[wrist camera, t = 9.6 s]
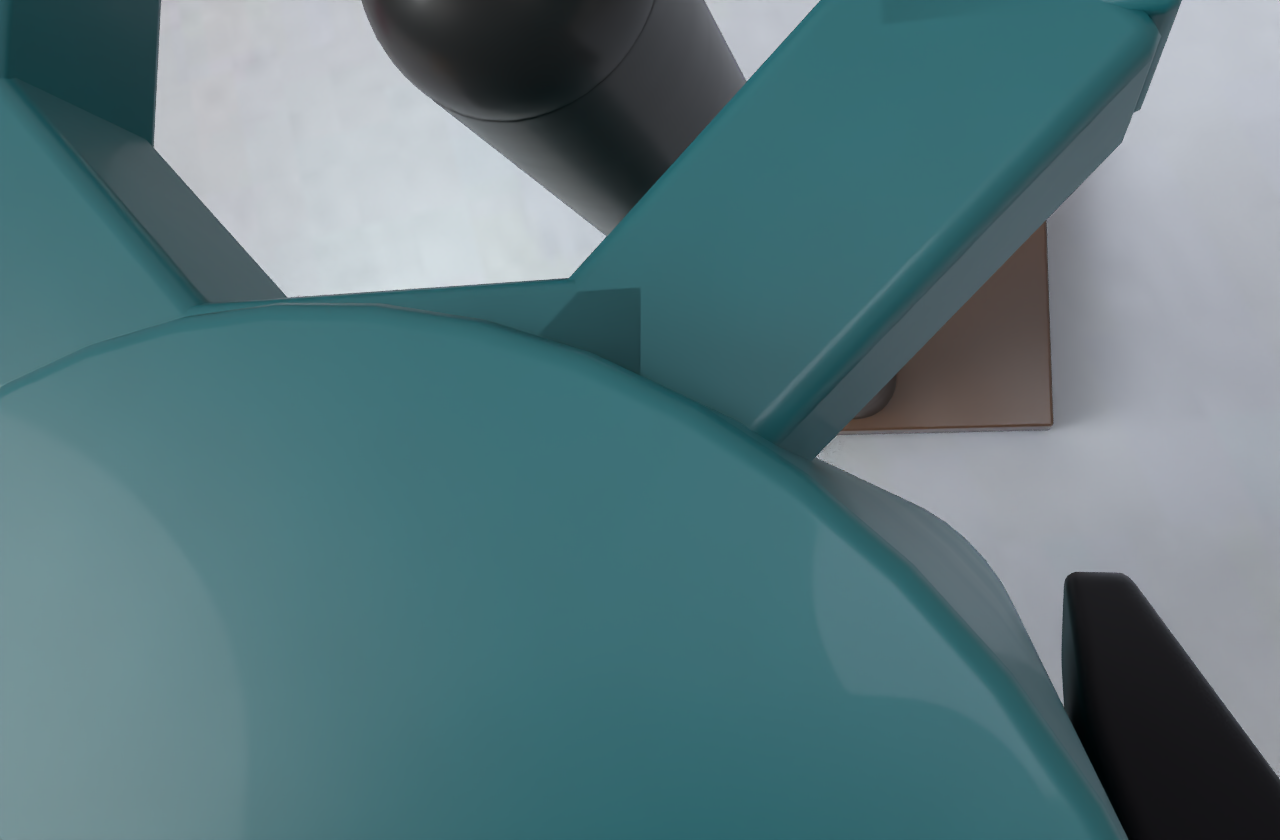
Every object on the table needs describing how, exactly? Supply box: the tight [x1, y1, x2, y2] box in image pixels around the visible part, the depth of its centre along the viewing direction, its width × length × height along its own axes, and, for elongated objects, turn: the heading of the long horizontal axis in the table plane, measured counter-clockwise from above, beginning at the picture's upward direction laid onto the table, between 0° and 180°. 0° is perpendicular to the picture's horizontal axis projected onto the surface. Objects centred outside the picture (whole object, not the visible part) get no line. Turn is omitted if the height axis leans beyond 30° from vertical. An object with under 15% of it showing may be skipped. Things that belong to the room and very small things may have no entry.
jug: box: [0, 0, 1182, 840], centre depth 9 cm, size 10×5×12 cm, turn 179°
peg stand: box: [362, 0, 1053, 435], centre depth 12 cm, size 6×6×16 cm
